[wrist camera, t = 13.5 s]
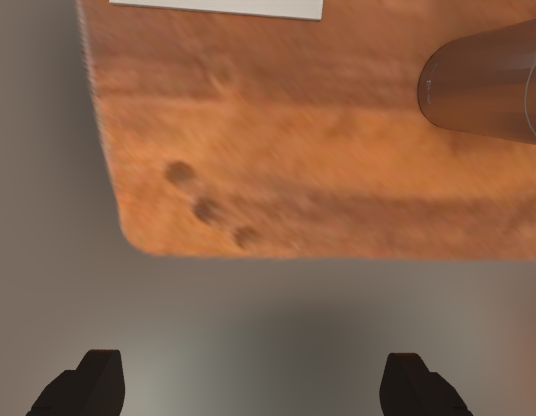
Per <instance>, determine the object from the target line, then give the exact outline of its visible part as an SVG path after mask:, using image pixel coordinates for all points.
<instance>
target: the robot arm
mask: <svg viewBox="0 0 536 416" xmlns="http://www.w3.org/2000/svg"><path fill="white" fill-rule="evenodd" d="M418 100H419V104H420V108H421V110H422V112H423V114H424V115H425V117H426V118H427V119H428V120H429V121H430V122H431V123H433V124H435V125H436V126H438V127H442V128H445V129H451V130H456V131H462V132H467V133H472V134H478V135H483V136H489V137H494V138H500V139H506V140H511V141H517V142H522V143H528V144H534V145H536V19H533V20H529V21H525V22H522V23H518V24H514V25H510V26H506V27H502V28H499V29H495V30H491V31H487V32H483V33H479V34H475V35H471V36H467V37H464V38H460V39H457V40H454V41H452V42H449V43H448V44H446V45H445V46H443V47H441V48H440V49H439V50H438V51H437V52H436V53H435V54H434V55H433V56H432V57H431V59H430V60H429V61H428V63H427V64H426V66H425V68H424V70H423V72H422V74H421V78H420V81H419V86H418ZM379 396H380V404H381V408H382V411H383V414H384V416H473V414H472V413H471V412H470V411H468V409H467V406H466V404H465V403H464V402H463V400H462V398H461V397H460V396H459V395H458V393H457V391H456V390H455V388H454V387H452V386H451V385H450V384H449V383H448V382H447V381H446V380H445V379H444V378H442V377H441V376H440V375H439V374H438V373H437V372H430V371H429V370H428V368H427V367H426V365H425V364H424V362H423V360H422V359H421V357H420V356H419V355H418V354H416V353H390V354H389V355H388V358H387V362H386V366H385V370H384V374H383V378H382V382H381V386H380V391H379ZM124 397H125V383H124V376H123V369H122V361H121V354H120V351H119V350H94V349H92V350H89V351H88V352H87V353H86V355H85V356H84V358H83V359H82V361H81V362H80V364H79V365H78V367H77V369H76V370H65V371H64V372H63V373H61V374H60V375H59V376H58V377H57V378H56V379H54V380H53V381H52V382H51V383H50V384H48V385H47V386H46V387H45V389H44V390H43V392H42V393H41V394H40V396H39V397H38V399H37V400H36V401H35V403H34V404H33V406H32V408H31V411H29V412H28V413H27V414H26V416H119V415H120V413H121V410H122V407H123V403H124Z"/></svg>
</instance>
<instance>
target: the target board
mask: <svg viewBox="0 0 536 416" xmlns="http://www.w3.org/2000/svg"><path fill="white" fill-rule="evenodd" d="M109 2H110V3H111V4H113V5H125V6H137V7H150V8H162V9H174V10H187V11H199V12H212V13H224V14H237V15H249V16H262V17H274V18H286V19H299V20H311V21H320V20H321V15H322V5H323V0H109Z"/></svg>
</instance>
